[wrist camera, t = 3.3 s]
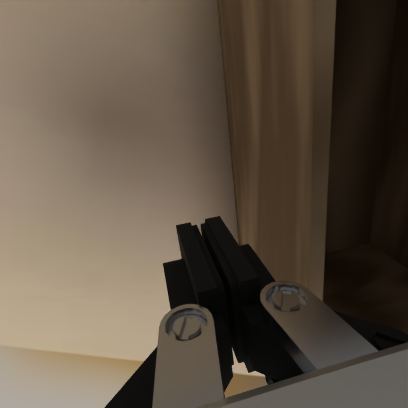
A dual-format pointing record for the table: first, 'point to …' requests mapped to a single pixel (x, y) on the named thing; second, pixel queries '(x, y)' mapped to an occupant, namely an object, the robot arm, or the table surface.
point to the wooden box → (323, 146)
